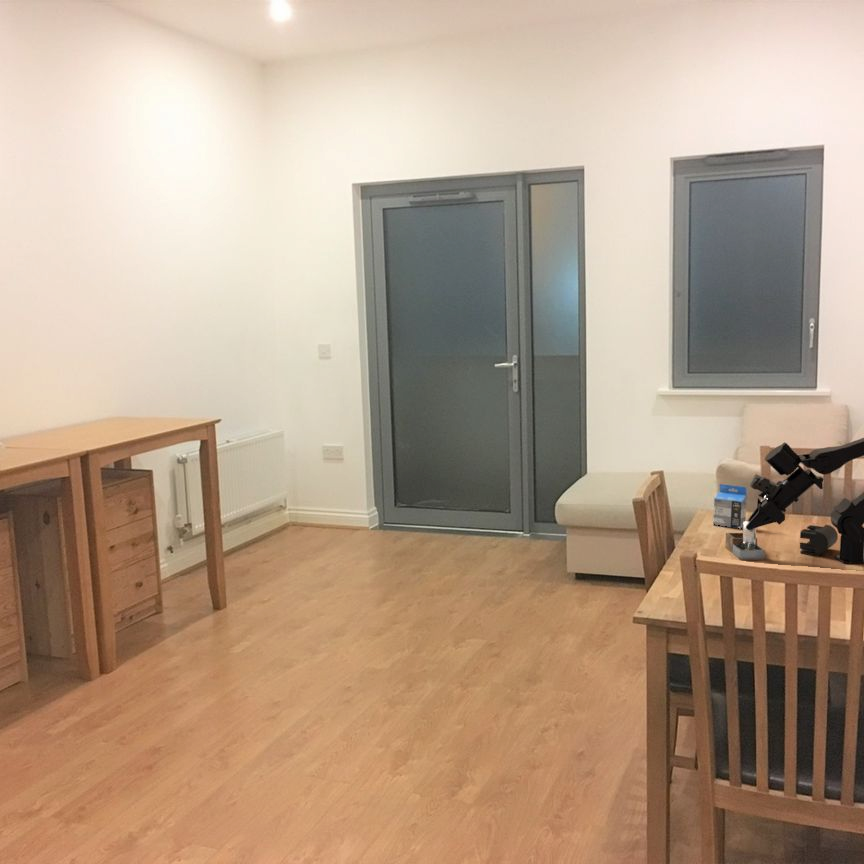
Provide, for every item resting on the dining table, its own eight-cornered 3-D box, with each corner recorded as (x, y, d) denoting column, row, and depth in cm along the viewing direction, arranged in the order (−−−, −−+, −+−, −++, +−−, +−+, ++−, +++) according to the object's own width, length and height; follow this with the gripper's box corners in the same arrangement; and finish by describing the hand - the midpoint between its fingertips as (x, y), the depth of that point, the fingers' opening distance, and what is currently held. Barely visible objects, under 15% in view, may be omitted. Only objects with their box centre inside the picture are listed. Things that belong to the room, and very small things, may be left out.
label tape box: (712, 525, 278) (713, 485, 276) (718, 522, 281) (719, 483, 279) (740, 529, 272) (741, 488, 271) (746, 527, 275) (747, 486, 274)
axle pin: (757, 553, 241) (757, 523, 240) (744, 553, 241) (745, 523, 240) (753, 550, 244) (754, 520, 243) (741, 550, 244) (741, 520, 243)
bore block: (756, 553, 246) (757, 538, 245) (732, 553, 246) (732, 538, 246) (748, 546, 252) (749, 532, 252) (725, 547, 252) (725, 532, 252)
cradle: (764, 559, 239) (765, 550, 239) (740, 559, 240) (740, 550, 239) (756, 553, 246) (757, 544, 245) (732, 553, 246) (732, 544, 246)
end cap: (826, 558, 240) (828, 533, 239) (799, 554, 245) (800, 529, 244) (837, 550, 248) (838, 525, 247) (810, 546, 252) (811, 522, 252)
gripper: (767, 459, 247) (723, 497, 252) (772, 471, 229) (725, 512, 234) (798, 489, 246) (753, 527, 250) (805, 503, 228) (757, 544, 233)
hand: (746, 526), depth 242 cm, fingers closed on axle pin, 3 cm apart
